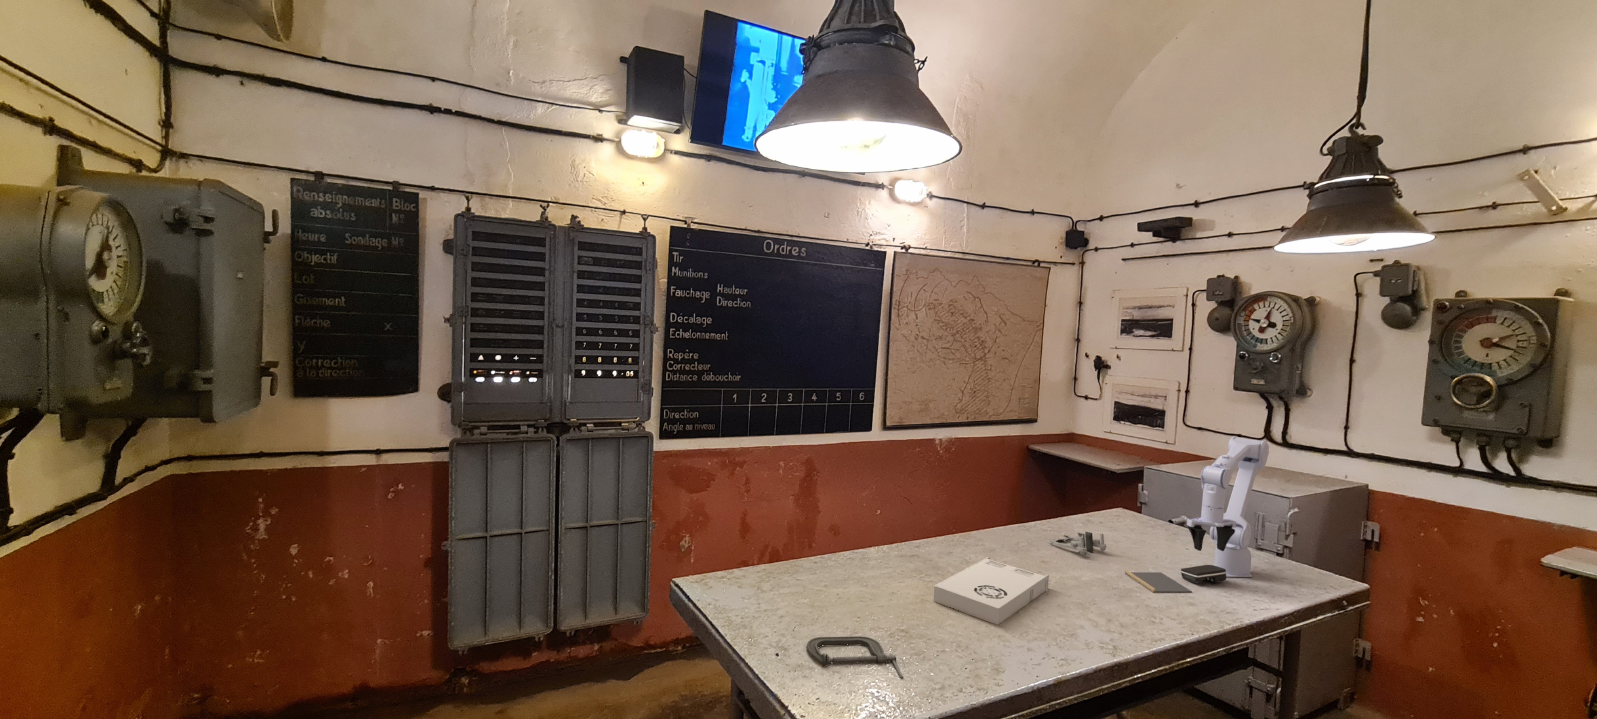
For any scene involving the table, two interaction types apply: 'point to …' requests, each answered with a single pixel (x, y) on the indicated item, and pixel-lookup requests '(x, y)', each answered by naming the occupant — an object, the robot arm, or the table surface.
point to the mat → (1157, 582)
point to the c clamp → (867, 642)
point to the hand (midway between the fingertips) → (1209, 549)
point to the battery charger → (1204, 573)
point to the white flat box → (990, 590)
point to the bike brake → (1082, 543)
